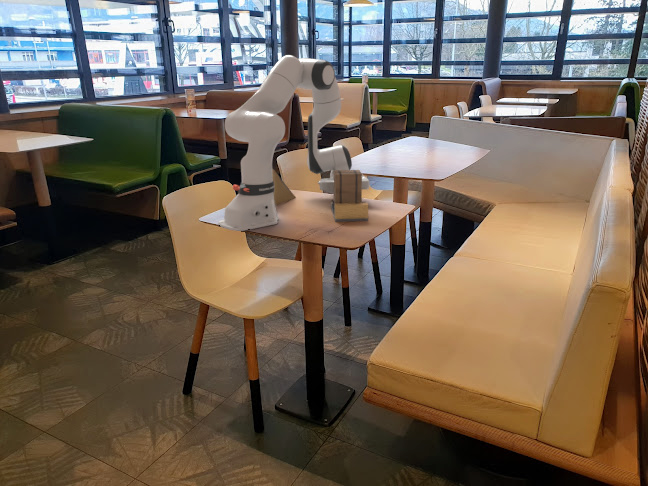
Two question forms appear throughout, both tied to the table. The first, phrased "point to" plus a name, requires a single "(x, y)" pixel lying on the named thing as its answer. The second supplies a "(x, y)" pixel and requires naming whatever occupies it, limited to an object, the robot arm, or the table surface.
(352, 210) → the roller track
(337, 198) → the crate
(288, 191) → the sandwich container
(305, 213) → the table surface
